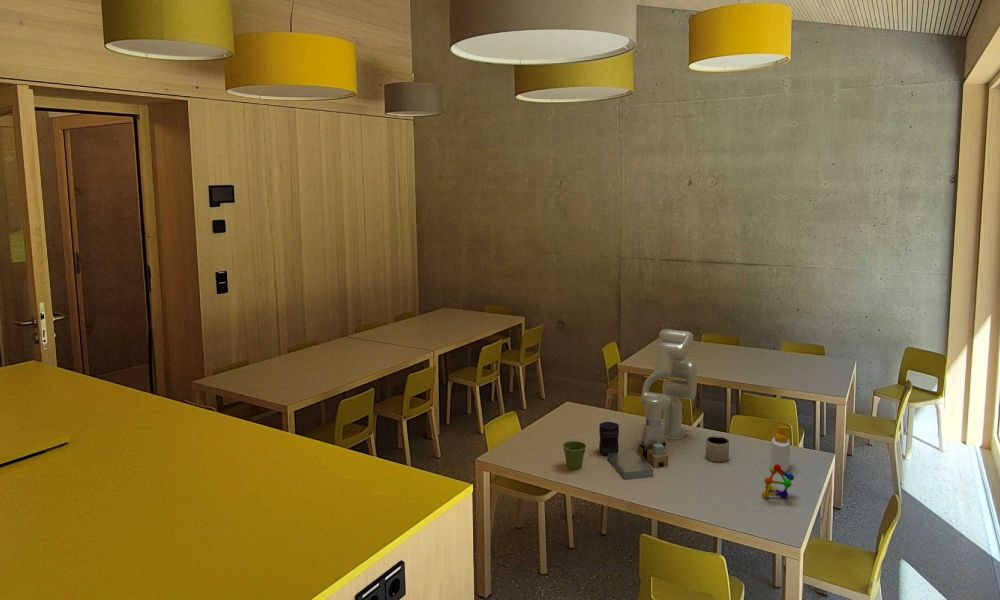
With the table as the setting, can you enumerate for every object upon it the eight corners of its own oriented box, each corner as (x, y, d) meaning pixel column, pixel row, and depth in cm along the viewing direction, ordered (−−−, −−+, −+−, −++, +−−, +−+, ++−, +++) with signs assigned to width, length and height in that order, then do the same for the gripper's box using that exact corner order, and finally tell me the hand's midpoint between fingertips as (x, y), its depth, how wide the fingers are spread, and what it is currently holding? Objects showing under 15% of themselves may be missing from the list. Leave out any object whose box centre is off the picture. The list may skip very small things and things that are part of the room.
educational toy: (794, 506, 294) (796, 475, 290) (761, 502, 298) (763, 471, 294) (792, 488, 308) (794, 457, 304) (761, 484, 312) (762, 454, 308)
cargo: (660, 451, 338) (660, 443, 338) (663, 454, 335) (664, 446, 334) (652, 451, 338) (652, 444, 337) (656, 455, 334) (656, 447, 333)
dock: (634, 456, 346) (634, 450, 346) (653, 476, 323) (653, 470, 323) (607, 458, 344) (607, 452, 343) (624, 479, 321) (624, 472, 320)
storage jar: (618, 457, 345) (618, 429, 343) (598, 456, 347) (598, 428, 345) (618, 449, 355) (619, 422, 352) (599, 448, 357) (599, 421, 354)
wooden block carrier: (637, 450, 354) (637, 440, 353) (650, 449, 355) (650, 439, 354) (654, 467, 333) (654, 457, 332) (668, 466, 334) (668, 455, 333)
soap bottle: (789, 473, 324) (791, 432, 320) (770, 471, 326) (772, 430, 323) (788, 462, 336) (790, 423, 332) (770, 460, 339) (772, 421, 335)
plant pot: (571, 474, 327) (571, 451, 325) (557, 465, 337) (557, 443, 335) (591, 469, 332) (591, 447, 330) (577, 460, 343) (577, 439, 341)
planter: (729, 456, 345) (730, 437, 343) (727, 464, 335) (727, 445, 334) (707, 452, 350) (708, 434, 348) (704, 460, 340) (704, 442, 338)
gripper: (666, 418, 346) (665, 451, 349) (633, 421, 343) (633, 454, 346) (673, 423, 338) (672, 457, 341) (639, 426, 335) (638, 460, 338)
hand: (652, 455), depth 344 cm, fingers closed on wooden block carrier, 7 cm apart
